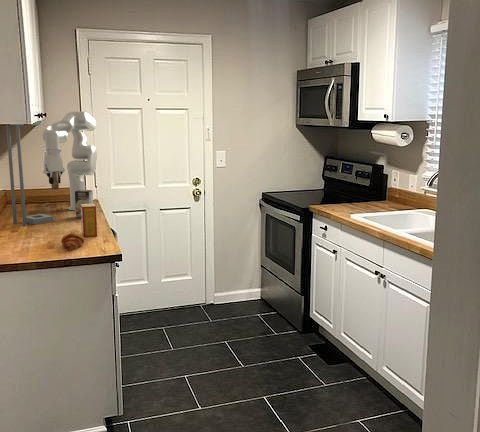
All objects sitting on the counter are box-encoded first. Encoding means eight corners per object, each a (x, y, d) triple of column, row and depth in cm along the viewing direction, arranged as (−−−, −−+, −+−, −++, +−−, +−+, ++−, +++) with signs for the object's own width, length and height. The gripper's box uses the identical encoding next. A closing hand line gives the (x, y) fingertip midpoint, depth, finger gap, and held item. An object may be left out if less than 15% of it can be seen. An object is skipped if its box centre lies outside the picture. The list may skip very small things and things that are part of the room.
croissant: (70, 248, 257) (61, 234, 255) (89, 238, 258) (80, 224, 256) (63, 258, 236) (53, 243, 235) (82, 248, 237) (73, 232, 235)
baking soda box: (81, 233, 273) (80, 203, 270) (94, 232, 275) (93, 202, 272) (83, 237, 264) (82, 206, 261) (97, 236, 267) (95, 205, 264)
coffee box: (75, 217, 316) (73, 191, 313) (79, 215, 322) (78, 189, 319) (90, 218, 315) (88, 191, 312) (94, 216, 322) (92, 189, 319)
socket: (41, 218, 312) (41, 213, 311) (53, 221, 305) (53, 216, 304) (22, 221, 302) (22, 216, 302) (34, 224, 295) (33, 219, 295)
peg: (56, 188, 312) (55, 171, 310) (60, 188, 310) (59, 171, 308) (50, 188, 309) (49, 171, 307) (54, 189, 307) (53, 172, 305)
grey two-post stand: (35, 219, 309) (28, 120, 298) (46, 222, 302) (40, 121, 291) (12, 223, 298) (4, 120, 287) (23, 226, 291) (16, 121, 280)
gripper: (61, 151, 314) (63, 181, 318) (36, 152, 301) (38, 184, 305) (69, 151, 310) (71, 182, 313) (43, 153, 297) (45, 185, 300)
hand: (54, 183), depth 309 cm, fingers closed on peg, 4 cm apart
